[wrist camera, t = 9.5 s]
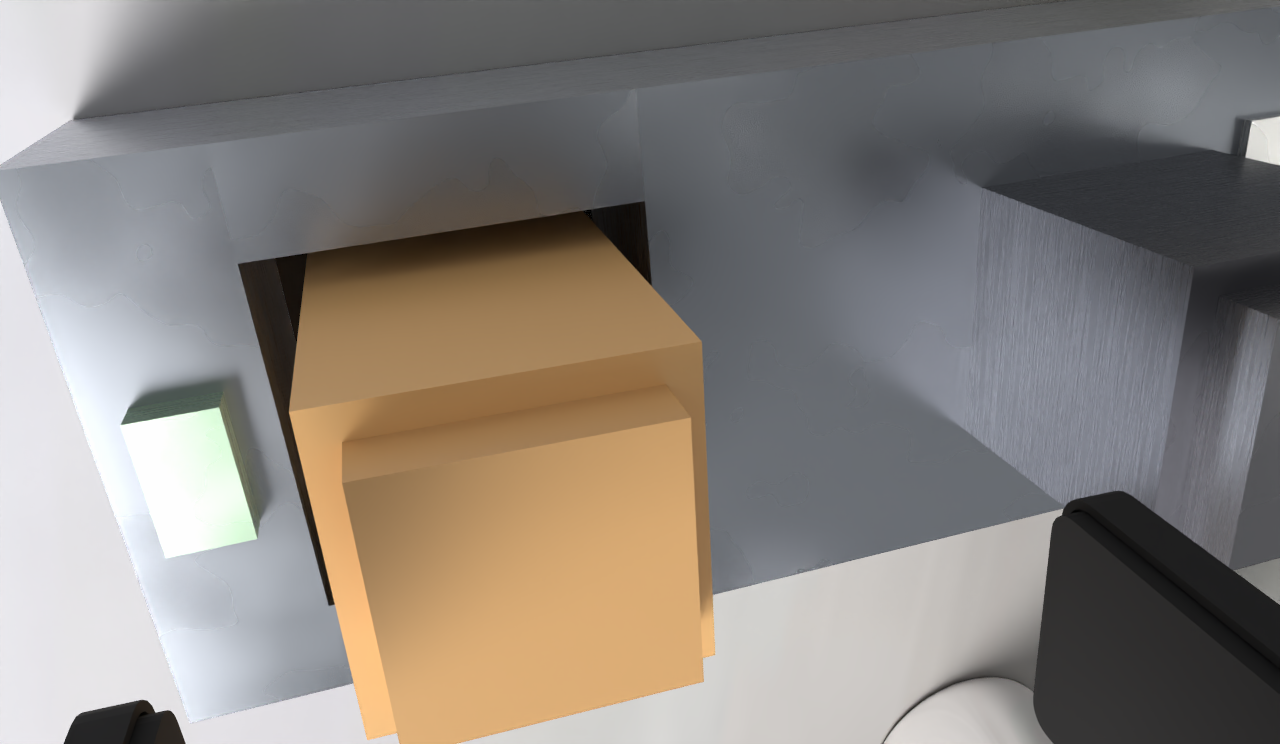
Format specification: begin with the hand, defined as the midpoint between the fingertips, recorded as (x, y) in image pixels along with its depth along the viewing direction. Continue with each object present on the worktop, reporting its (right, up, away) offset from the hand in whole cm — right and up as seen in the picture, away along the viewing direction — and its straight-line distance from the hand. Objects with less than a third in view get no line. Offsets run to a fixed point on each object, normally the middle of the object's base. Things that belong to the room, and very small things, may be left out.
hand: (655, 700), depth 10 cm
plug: (-4, +5, +10) cm, 12 cm away
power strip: (+2, +6, +12) cm, 13 cm away
